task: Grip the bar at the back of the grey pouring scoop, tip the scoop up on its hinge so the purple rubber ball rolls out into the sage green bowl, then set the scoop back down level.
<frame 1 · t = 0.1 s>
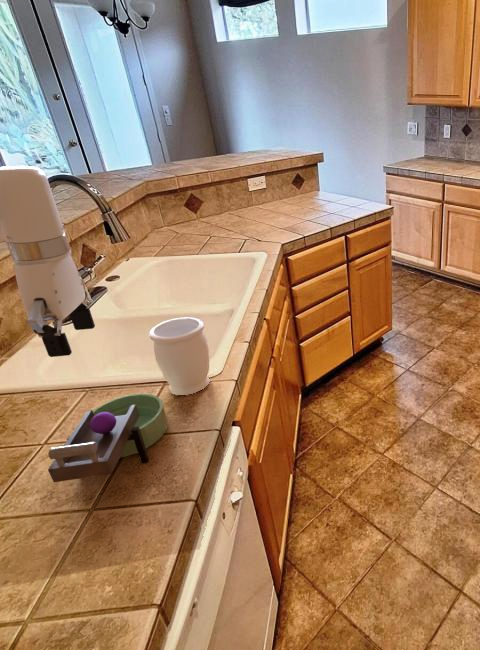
hand: (73, 341, 76), 20 cm above the counter, tool pointing down, fingers open, 9 cm apart
bracket: (115, 465, 75), on the counter
bowl: (130, 435, 82), on the counter
ball: (106, 431, 73), point 7 cm above the counter, touching scoop
scoop: (95, 432, 70), point 9 cm above the counter, hinge at -0.1°, touching ball
jar: (190, 386, 97), on the counter
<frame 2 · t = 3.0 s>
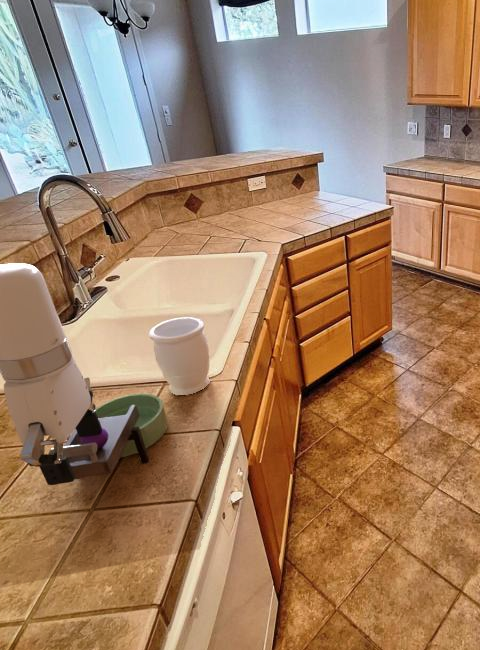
hand: (77, 456, 63), 10 cm above the counter, tool pointing down, fingers open, 9 cm apart
ball: (97, 427, 70), point 10 cm above the counter, tilted 122°, touching gripper, scoop
everything else where it was.
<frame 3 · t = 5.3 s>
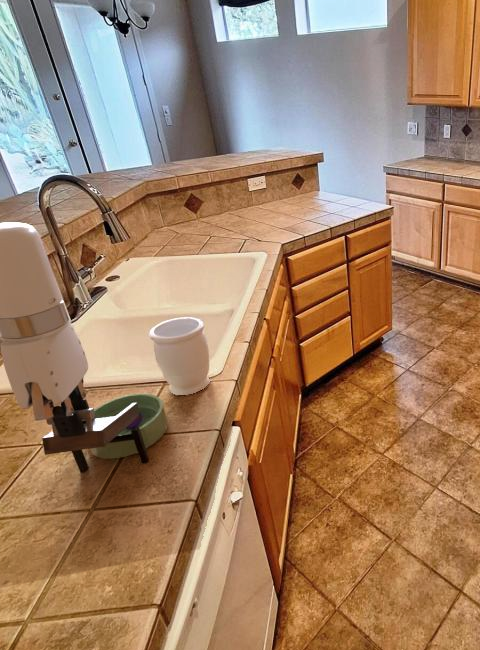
hand: (77, 428, 64), 14 cm above the counter, tool pointing down, fingers closed on scoop, 2 cm apart
ball: (134, 419, 85), point 1 cm above the counter, tilted 50°, touching bowl
scoop: (93, 416, 70), point 12 cm above the counter, hinge at 20.0°, touching gripper
everything else where it was.
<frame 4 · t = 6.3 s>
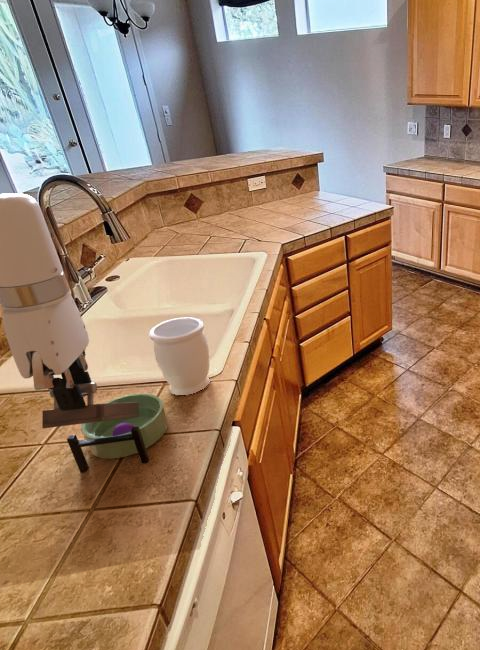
hand: (78, 400, 65), 17 cm above the counter, tool pointing down, fingers closed on scoop, 2 cm apart
ball: (121, 424, 79), point 4 cm above the counter, tilted 178°, touching bowl
scoop: (95, 403, 70), point 13 cm above the counter, hinge at 35.9°, touching gripper
everything else where it was.
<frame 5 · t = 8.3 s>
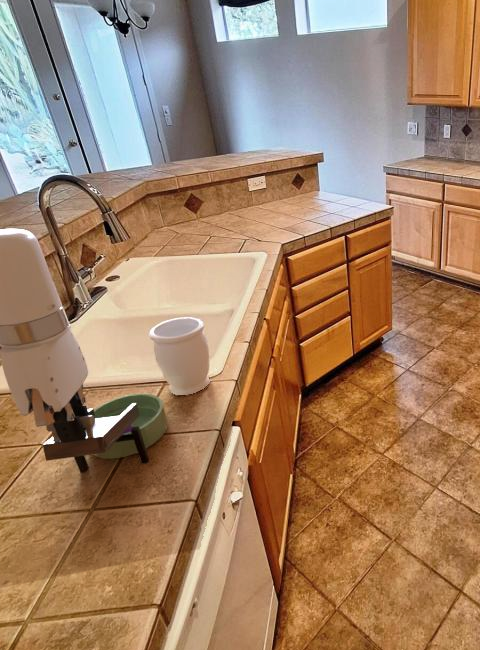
hand: (77, 433, 64), 13 cm above the counter, tool pointing down, fingers closed on scoop
ball: (120, 427, 78), point 4 cm above the counter, tilted 170°, touching bowl
scoop: (93, 419, 70), point 11 cm above the counter, hinge at 16.0°, touching gripper
everything else where it was.
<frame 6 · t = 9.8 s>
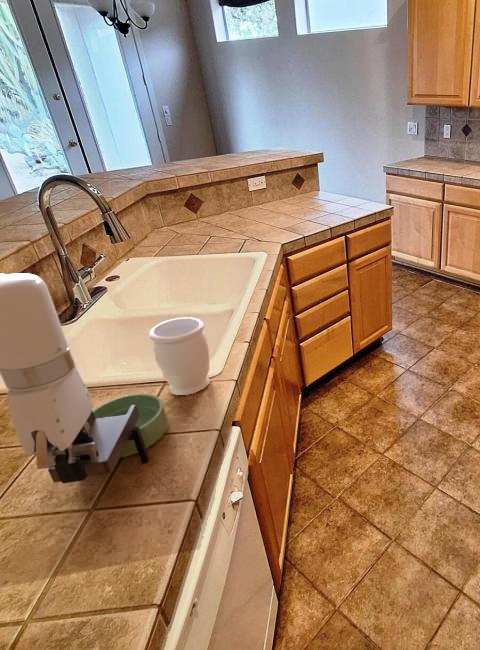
hand: (81, 468, 65), 8 cm above the counter, tool pointing down, fingers open, 3 cm apart
ball: (123, 421, 80), point 4 cm above the counter, tilted 161°, touching bowl
scoop: (95, 432, 70), point 9 cm above the counter, hinge at -0.2°
everything else where it was.
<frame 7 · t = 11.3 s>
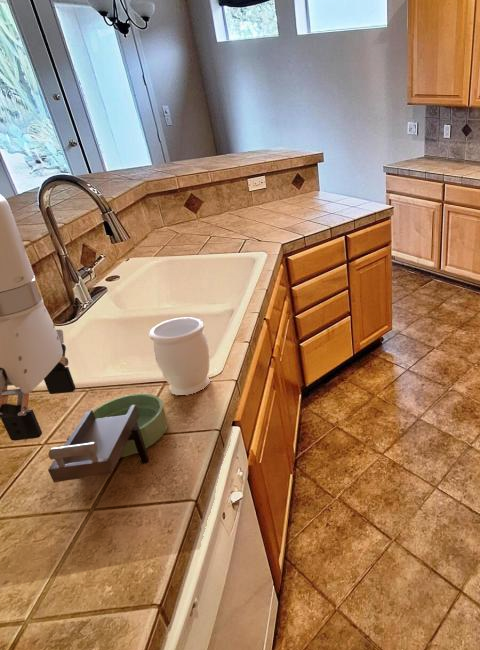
hand: (46, 413, 58), 20 cm above the counter, tool pointing down, fingers open, 9 cm apart
ball: (127, 417, 82), point 3 cm above the counter, tilted 131°, touching bowl
everything else where it was.
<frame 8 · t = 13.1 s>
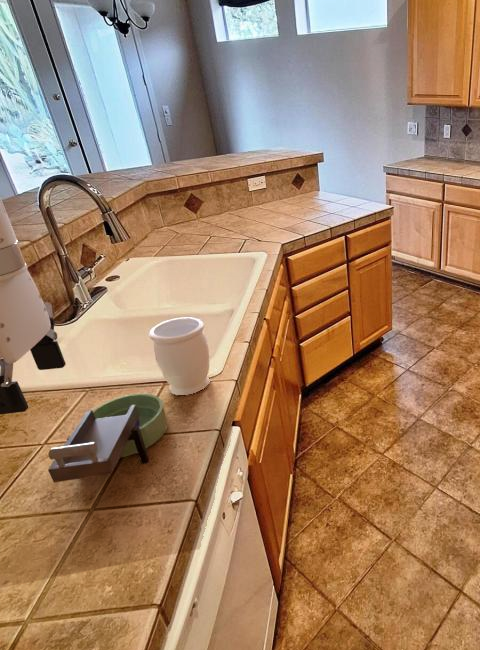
hand: (34, 388, 55), 24 cm above the counter, tool pointing down, fingers open, 9 cm apart
ball: (131, 416, 84), point 3 cm above the counter, tilted 96°, touching bowl
everything else where it was.
at the end: scoop reached +36° during the clip, +0° at the end; ball inside the target area in the bowl (2.4 cm from its centre), point 2.5 cm above the bowl's base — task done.
